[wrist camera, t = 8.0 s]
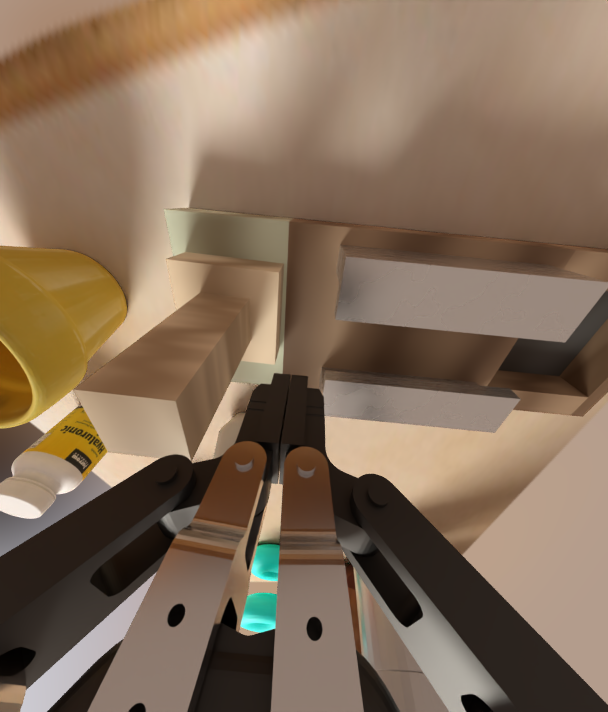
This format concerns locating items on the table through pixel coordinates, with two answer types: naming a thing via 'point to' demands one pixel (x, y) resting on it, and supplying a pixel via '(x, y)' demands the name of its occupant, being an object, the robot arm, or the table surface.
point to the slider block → (187, 356)
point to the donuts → (262, 605)
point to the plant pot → (50, 325)
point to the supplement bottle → (52, 466)
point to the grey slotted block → (447, 328)
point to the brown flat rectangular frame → (397, 343)
